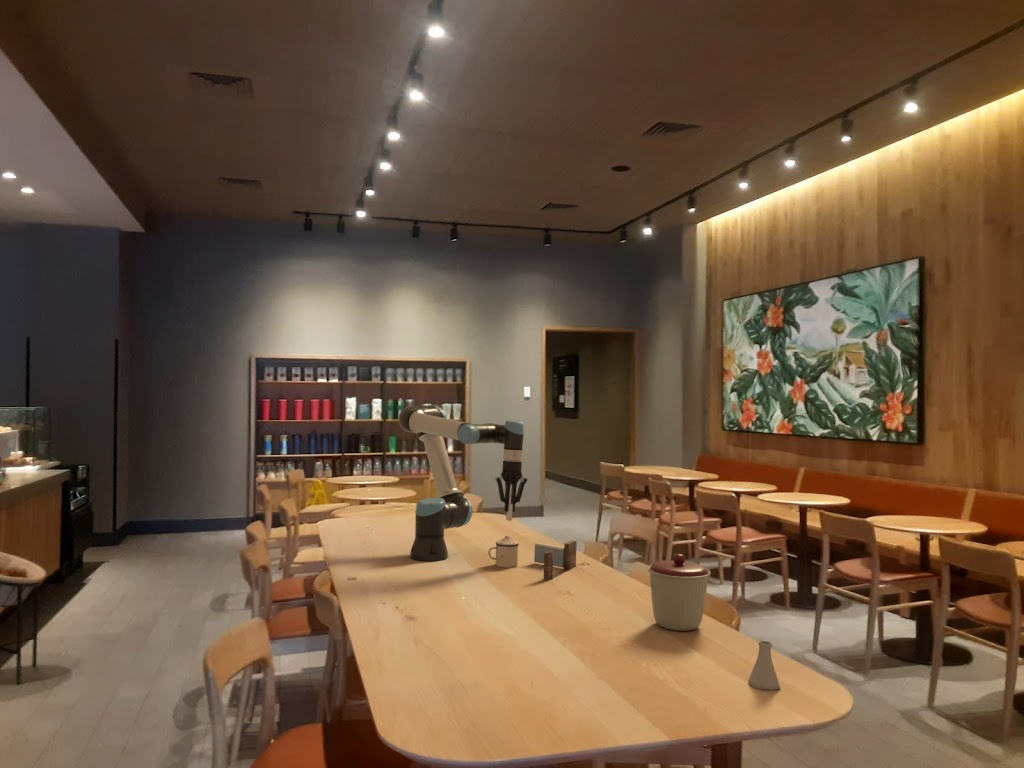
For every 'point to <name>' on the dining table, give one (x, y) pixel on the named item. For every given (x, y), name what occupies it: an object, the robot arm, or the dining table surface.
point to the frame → (568, 561)
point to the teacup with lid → (506, 552)
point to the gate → (557, 551)
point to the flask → (764, 669)
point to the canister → (678, 593)
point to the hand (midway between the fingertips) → (508, 519)
